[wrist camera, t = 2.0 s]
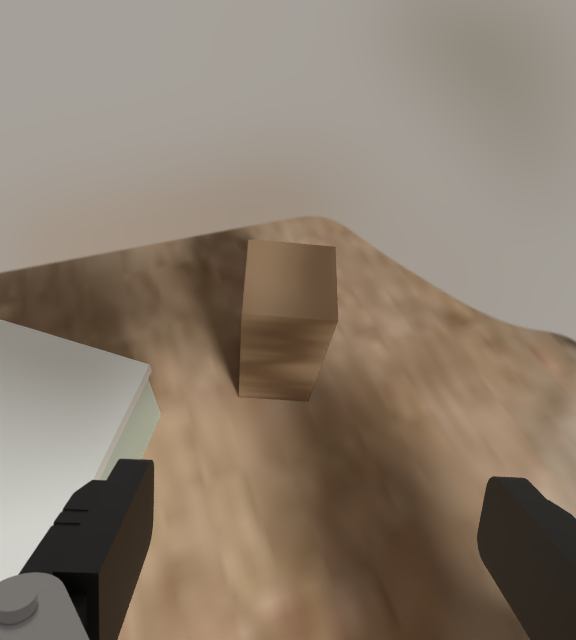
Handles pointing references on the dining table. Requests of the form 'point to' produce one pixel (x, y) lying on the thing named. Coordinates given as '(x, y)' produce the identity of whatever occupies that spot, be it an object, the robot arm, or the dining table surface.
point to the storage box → (61, 429)
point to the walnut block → (286, 318)
